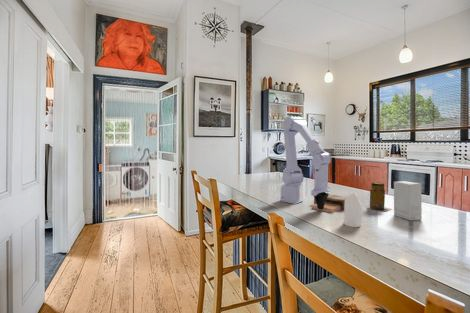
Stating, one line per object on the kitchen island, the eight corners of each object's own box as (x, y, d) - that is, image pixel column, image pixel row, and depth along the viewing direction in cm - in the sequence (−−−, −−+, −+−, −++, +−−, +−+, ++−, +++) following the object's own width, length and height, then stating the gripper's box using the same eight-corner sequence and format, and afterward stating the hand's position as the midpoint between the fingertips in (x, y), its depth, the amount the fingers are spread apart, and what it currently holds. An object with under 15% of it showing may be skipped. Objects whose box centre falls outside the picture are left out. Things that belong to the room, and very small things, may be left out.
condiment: (372, 205, 121) (373, 181, 120) (391, 209, 114) (392, 183, 114) (365, 208, 116) (366, 183, 115) (385, 212, 110) (386, 185, 109)
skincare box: (421, 220, 98) (423, 183, 97) (408, 221, 97) (410, 184, 96) (404, 214, 106) (406, 180, 106) (392, 214, 106) (393, 180, 105)
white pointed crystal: (343, 194, 92) (346, 191, 96) (342, 225, 92) (345, 221, 97) (361, 195, 88) (363, 193, 93) (360, 228, 89) (362, 224, 94)
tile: (311, 209, 115) (311, 205, 115) (324, 203, 125) (325, 200, 125) (332, 213, 108) (333, 209, 108) (344, 207, 118) (345, 203, 118)
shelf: (314, 204, 123) (314, 195, 123) (321, 201, 129) (321, 192, 128) (344, 210, 113) (344, 200, 112) (350, 206, 118) (351, 197, 118)
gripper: (322, 182, 103) (321, 214, 103) (336, 178, 113) (335, 207, 114) (307, 180, 108) (306, 210, 108) (321, 176, 118) (321, 204, 119)
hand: (320, 208), depth 111 cm, fingers closed
